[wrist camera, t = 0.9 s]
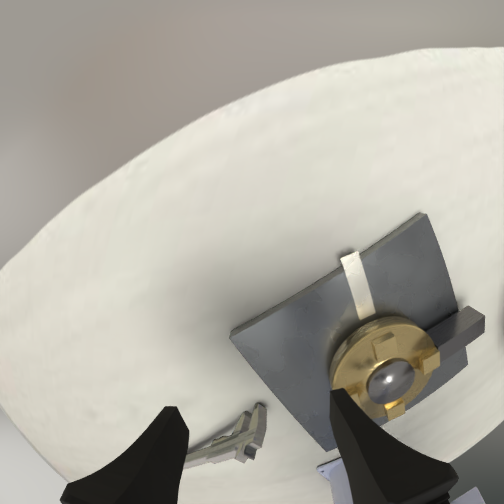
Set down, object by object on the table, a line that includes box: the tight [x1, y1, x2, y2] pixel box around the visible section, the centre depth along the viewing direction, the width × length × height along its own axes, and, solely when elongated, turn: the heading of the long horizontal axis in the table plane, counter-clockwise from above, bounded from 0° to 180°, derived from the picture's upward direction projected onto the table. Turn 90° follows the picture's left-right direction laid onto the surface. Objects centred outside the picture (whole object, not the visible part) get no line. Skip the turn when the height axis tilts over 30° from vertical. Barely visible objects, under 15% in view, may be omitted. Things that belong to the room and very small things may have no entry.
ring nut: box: [329, 306, 485, 421], centre depth 18 cm, size 14×9×3 cm, turn 113°
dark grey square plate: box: [229, 213, 468, 452], centre depth 20 cm, size 19×19×1 cm
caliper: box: [183, 403, 267, 469], centre depth 21 cm, size 21×1×6 cm, turn 139°
